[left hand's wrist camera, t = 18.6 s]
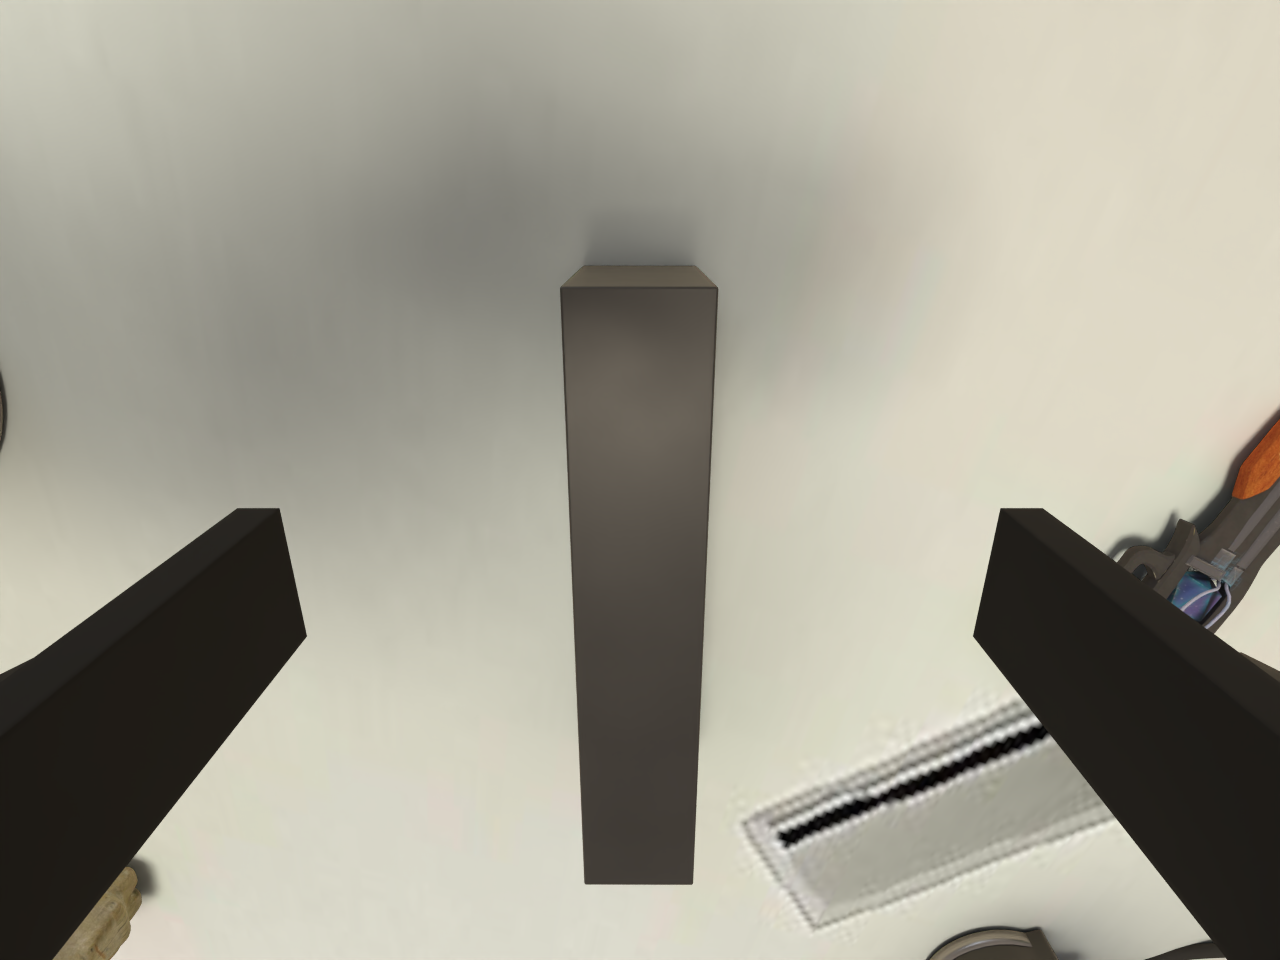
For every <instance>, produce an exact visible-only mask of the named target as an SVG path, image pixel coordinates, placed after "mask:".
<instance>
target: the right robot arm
mask: <svg viewBox="0 0 1280 960" xmlns="http://www.w3.org/2000/svg"><path fill="white" fill-rule="evenodd" d="M1204 958H1226V957H1225V956H1224V955H1223V954H1222V952H1221V951H1220V950H1219V948H1218V947H1217V946H1216V945H1215V943H1204V944H1194V945H1189V946H1186V947H1182V948H1178V949H1175V950H1172V951H1170V952H1167V953H1164V954H1161V955H1158V956H1155V957H1152V958H1149V959H1145V960H1192V959H1204ZM930 960H1058V958H1057V957H1056V955H1055V953H1054V951H1053V949H1052V948H1051V946H1050V944H1049V942H1048V940H1047V939H1046V937H1045V935H1044V933H1043V932H1042V930H1034V931H1031V932H1025V933H1023V932H1018V931H1012V930H988V931H981V932H977V933H973V934H969V935H966V936H963V937H961V938H958V939H956V940H954V941H952V942H950V943H949V944H947V945H946V946H944V947H943V948H941V949H940V950H939V951H937V952H936V953H935V954H934V955H933V956H932V958H931V959H930Z"/></svg>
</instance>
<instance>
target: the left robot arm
mask: <svg viewBox="0 0 1280 960" xmlns="http://www.w3.org/2000/svg"><path fill="white" fill-rule="evenodd" d="M2 423H3V410H2V399H1V393H0V439H1V433H2ZM306 637H307V634H306V630H305V625H304V620H303V616H302V611H301V606H300V602H299V597H298V592H297V588H296V583H295V579H294V574H293V569H292V565H291V560H290V555H289V551H288V546H287V541H286V537H285V532H284V527H283V523H282V518H281V513H280V509H279V508H237V509H236V510H234V511H233V512H232V513H230V514H229V515H228V516H226V517H225V518H224V519H222V520H221V521H219V522H218V523H217V524H215V525H214V526H213V527H211V528H210V529H209V530H207V531H206V532H204V533H203V534H202V535H200V536H199V537H198V538H196V539H195V540H194V541H192V542H191V543H189V544H188V545H187V546H185V547H184V548H183V549H181V550H180V551H179V552H177V553H176V554H174V555H173V556H172V557H170V558H169V559H168V560H166V561H165V562H164V563H162V564H161V565H160V566H158V567H157V568H155V569H154V570H153V571H151V572H150V573H149V574H147V575H146V576H145V577H143V578H142V579H140V580H139V581H138V582H136V583H135V584H134V585H132V586H131V587H130V588H128V589H127V590H125V591H124V592H123V593H121V594H120V595H119V596H117V597H116V598H115V599H113V600H112V601H110V602H109V603H108V604H106V605H105V606H104V607H102V608H101V609H100V610H98V611H97V612H96V613H94V614H93V615H91V616H90V617H89V618H87V619H86V620H85V621H83V622H82V623H81V624H79V625H78V626H76V627H75V628H74V629H72V630H71V631H70V632H68V633H67V634H66V635H64V636H63V637H61V638H60V639H59V640H57V641H56V642H55V643H53V644H52V645H51V646H49V647H48V648H46V649H45V650H44V651H42V652H41V653H40V654H38V655H37V656H36V657H34V658H32V659H30V660H28V661H26V662H24V663H22V664H20V665H18V666H16V667H14V668H12V669H10V670H8V671H6V672H4V673H2V674H0V960H53V959H54V957H55V956H56V955H57V954H58V952H59V951H60V950H61V948H62V947H63V946H64V945H65V943H66V942H67V941H68V940H69V938H70V937H71V936H72V934H73V933H74V932H75V931H76V929H77V928H78V927H79V926H80V924H81V923H82V922H83V920H84V919H85V918H86V917H87V915H88V914H89V913H90V912H91V910H92V909H93V908H94V906H95V905H96V904H97V903H98V901H99V900H100V899H101V898H102V896H103V895H104V894H105V892H106V891H107V890H108V889H109V887H110V886H111V885H112V884H113V882H114V881H115V880H116V878H117V877H118V876H119V875H120V873H121V872H122V871H123V870H124V868H125V867H126V866H127V864H128V863H129V862H130V861H131V859H132V858H133V857H134V856H135V854H136V853H137V852H138V851H139V849H140V848H141V847H142V845H143V844H144V843H145V842H146V840H147V839H148V838H149V837H150V835H151V834H152V833H153V831H154V830H155V829H156V828H157V826H158V825H159V824H160V823H161V821H162V820H163V819H164V817H165V816H166V815H167V814H168V812H169V811H170V810H171V809H172V807H173V806H174V805H175V803H176V802H177V801H178V800H179V798H180V797H181V796H182V795H183V793H184V792H185V791H186V789H187V788H188V787H189V786H190V784H191V783H192V782H193V781H194V779H195V778H196V777H197V775H198V774H199V773H200V772H201V770H202V769H203V768H204V767H205V765H206V764H207V763H208V761H209V760H210V759H211V758H212V756H213V755H214V754H215V753H216V751H217V750H218V749H219V747H220V746H221V745H222V744H223V742H224V741H225V740H226V739H227V737H228V736H229V735H230V733H231V732H232V731H233V730H234V728H235V727H236V726H237V725H238V723H239V722H240V721H241V720H242V718H243V717H244V716H245V714H246V713H247V712H248V711H249V709H250V708H251V707H252V706H253V704H254V703H255V702H256V700H257V699H258V698H259V697H260V695H261V694H262V693H263V692H264V690H265V689H266V688H267V686H268V685H269V684H270V683H271V681H272V680H273V679H274V678H275V676H276V675H277V674H278V672H279V671H280V670H281V669H282V667H283V666H284V665H285V664H286V662H287V661H288V660H289V658H290V657H291V656H292V655H293V653H294V652H295V651H296V650H297V648H298V647H299V646H300V644H301V643H302V642H303V641H304V639H305V638H306ZM973 637H974V638H975V639H976V641H977V642H978V643H979V644H980V646H981V647H982V648H983V650H984V651H985V652H986V653H987V655H988V656H989V657H990V658H991V660H992V661H993V662H994V664H995V665H996V666H997V667H998V669H999V670H1000V671H1001V672H1002V674H1003V675H1004V676H1005V678H1006V679H1007V680H1008V681H1009V683H1010V684H1011V685H1012V686H1013V688H1014V689H1015V690H1016V692H1017V693H1018V694H1019V695H1020V697H1021V698H1022V699H1023V700H1024V702H1025V703H1026V704H1027V706H1028V707H1029V708H1030V709H1031V711H1032V712H1033V713H1034V714H1035V716H1036V717H1037V718H1038V720H1039V721H1040V722H1041V723H1042V725H1043V726H1044V727H1045V728H1046V730H1047V731H1048V732H1049V733H1050V735H1051V736H1052V737H1053V739H1054V740H1055V741H1056V742H1057V744H1058V745H1059V746H1060V747H1061V749H1062V750H1063V751H1064V753H1065V754H1066V755H1067V756H1068V758H1069V759H1070V760H1071V761H1072V763H1073V764H1074V765H1075V767H1076V768H1077V769H1078V770H1079V772H1080V773H1081V774H1082V775H1083V777H1084V778H1085V779H1086V781H1087V782H1088V783H1089V784H1090V786H1091V787H1092V788H1093V789H1094V791H1095V792H1096V793H1097V795H1098V796H1099V797H1100V798H1101V800H1102V801H1103V802H1104V803H1105V805H1106V806H1107V807H1108V809H1109V810H1110V811H1111V812H1112V814H1113V815H1114V816H1115V817H1116V819H1117V820H1118V821H1119V823H1120V824H1121V825H1122V826H1123V828H1124V829H1125V830H1126V831H1127V833H1128V834H1129V835H1130V837H1131V838H1132V839H1133V840H1134V842H1135V843H1136V844H1137V845H1138V847H1139V848H1140V849H1141V851H1142V852H1143V853H1144V854H1145V856H1146V857H1147V858H1148V859H1149V861H1150V862H1151V863H1152V864H1153V866H1154V867H1155V868H1156V870H1157V871H1158V872H1159V873H1160V875H1161V876H1162V877H1163V878H1164V880H1165V881H1166V882H1167V884H1168V885H1169V886H1170V887H1171V889H1172V890H1173V891H1174V892H1175V894H1176V895H1177V896H1178V898H1179V899H1180V900H1181V901H1182V903H1183V904H1184V905H1185V906H1186V908H1187V909H1188V910H1189V912H1190V913H1191V914H1192V915H1193V917H1194V918H1195V919H1196V920H1197V922H1198V923H1199V924H1200V926H1201V927H1202V928H1203V929H1204V931H1205V932H1206V933H1207V934H1208V936H1209V937H1210V938H1211V940H1212V941H1213V942H1214V943H1215V945H1216V946H1217V947H1218V948H1219V950H1220V951H1221V952H1222V954H1223V955H1224V956H1225V957H1226V959H1227V960H1280V671H1278V670H1276V669H1274V668H1272V667H1270V666H1268V665H1266V664H1264V663H1262V662H1260V661H1258V660H1256V659H1254V658H1252V657H1250V656H1248V655H1246V654H1244V653H1239V652H1238V651H1236V650H1235V649H1234V648H1232V647H1231V646H1229V645H1228V644H1227V643H1225V642H1224V641H1223V640H1221V639H1220V638H1219V637H1217V636H1216V635H1214V634H1213V633H1212V632H1210V631H1209V630H1208V629H1206V628H1205V627H1204V626H1202V625H1201V624H1199V623H1198V622H1197V621H1195V620H1194V619H1193V618H1191V617H1190V616H1189V615H1187V614H1186V613H1184V612H1183V611H1182V610H1180V609H1179V608H1178V607H1176V606H1175V605H1174V604H1172V603H1171V602H1170V601H1168V600H1167V599H1165V598H1164V597H1163V596H1161V595H1160V594H1159V593H1157V592H1156V591H1155V590H1153V589H1152V588H1150V587H1149V586H1148V585H1146V584H1145V583H1144V582H1142V581H1141V580H1140V579H1138V578H1137V577H1135V576H1134V575H1133V574H1131V573H1130V572H1129V571H1127V570H1126V569H1125V568H1123V567H1122V566H1120V565H1119V564H1118V563H1116V562H1115V561H1114V560H1112V559H1111V558H1110V557H1108V556H1107V555H1106V554H1104V553H1103V552H1101V551H1100V550H1099V549H1097V548H1096V547H1095V546H1093V545H1092V544H1091V543H1089V542H1088V541H1086V540H1085V539H1084V538H1082V537H1081V536H1080V535H1078V534H1077V533H1076V532H1074V531H1073V530H1071V529H1070V528H1069V527H1067V526H1066V525H1065V524H1063V523H1062V522H1061V521H1059V520H1058V519H1056V518H1055V517H1054V516H1052V515H1051V514H1050V513H1048V512H1047V511H1046V510H1044V509H1043V508H1001V509H1000V513H999V518H998V523H997V527H996V532H995V537H994V541H993V546H992V551H991V555H990V560H989V565H988V569H987V574H986V579H985V583H984V588H983V592H982V597H981V602H980V606H979V611H978V616H977V620H976V625H975V630H974V634H973Z"/></svg>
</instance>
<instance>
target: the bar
mask: <svg viewBox="0 0 1280 960" xmlns="http://www.w3.org/2000/svg"><path fill="white" fill-rule="evenodd" d="M560 297H561V322H562V346H563V371H564V395H565V420H566V444H567V468H568V493H569V517H570V542H571V566H572V591H573V615H574V639H575V664H576V688H577V713H578V737H579V762H580V786H581V810H582V835H583V859H584V883H585V884H626V885H692V884H693V871H694V847H695V824H696V800H697V777H698V753H699V730H700V706H701V683H702V659H703V636H704V612H705V589H706V565H707V542H708V518H709V494H710V471H711V447H712V424H713V400H714V377H715V353H716V330H717V306H718V287H717V286H716V285H715V284H714V283H713V282H712V281H711V280H710V279H709V278H708V277H707V276H706V275H705V274H704V273H703V272H702V271H700V270H699V269H698V268H697V267H696V266H583V267H582V268H581V269H580V270H579V271H577V272H576V273H575V274H574V275H573V276H572V277H571V278H570V279H569V280H568V281H567V282H566V283H565V284H564V285H562V286H561V288H560Z"/></svg>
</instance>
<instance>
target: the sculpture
mask: <svg viewBox="0 0 1280 960" xmlns="http://www.w3.org/2000/svg"><path fill="white" fill-rule="evenodd" d="M136 884H137V876H136V873H135V871H134V870H133V869H132V868H130V867H125V868H124V870H123V871H122V872H121V873H120V875H119V876H118V877H117V878H116V880H115V881H114V882H113V884H112V885H111V886H110V887H109V889H108V890H107V891H106V892H105V894H104V895H103V896H102V898H101V899H100V900H99V901H98V903H97V904H96V905H95V906H94V908H93V909H92V910H91V912H90V913H89V914H88V915H87V917H86V918H85V919H84V920H83V922H82V923H81V924H80V926H79V927H78V928H77V929H76V931H75V932H74V933H73V934H72V936H71V937H70V938H69V940H68V941H67V942H66V943H65V945H64V946H63V947H62V948H61V950H60V951H59V952H58V954H57V955H56V956H55V957H54V959H53V960H110V959H111V958H112V957H113V956H114V955H115V953H116V952H117V951H118V949H119V948H120V946H121V945H122V944H123V943H124V942H125V941H126V940H127V938H128V937H129V934H130V931H131V925H130V920H131V919H132V917H133V916H134V915H135V913H136V912H137V910H138V909H139V907H140V906H141V903H142V899H141V893H140V891H139V890H138V889H136V888H135V886H136Z"/></svg>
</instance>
